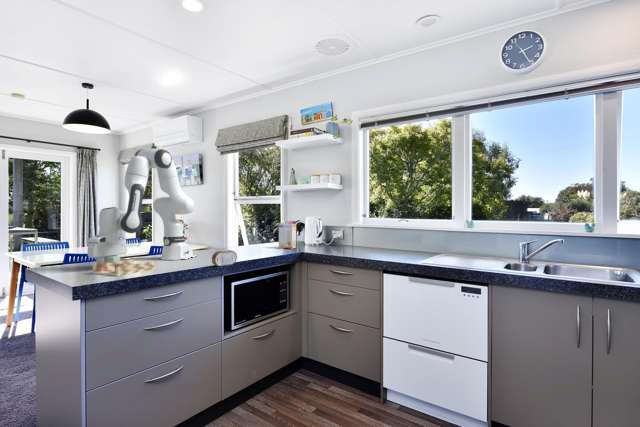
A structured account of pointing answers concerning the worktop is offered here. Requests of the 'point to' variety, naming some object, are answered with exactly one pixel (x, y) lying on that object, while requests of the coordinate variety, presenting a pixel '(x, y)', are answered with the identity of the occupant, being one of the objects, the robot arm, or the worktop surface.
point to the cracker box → (287, 235)
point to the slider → (108, 259)
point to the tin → (224, 258)
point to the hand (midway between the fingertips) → (108, 264)
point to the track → (122, 267)
